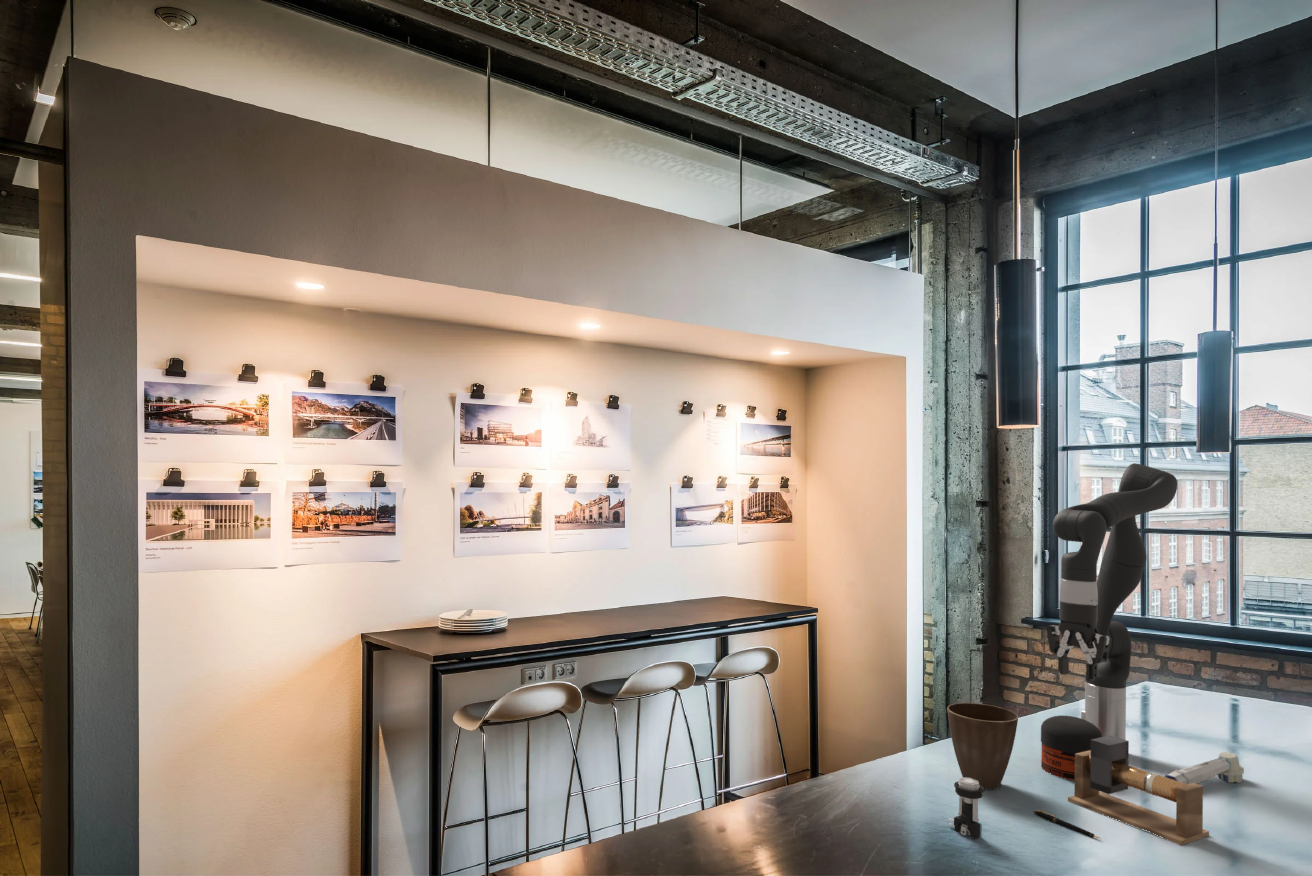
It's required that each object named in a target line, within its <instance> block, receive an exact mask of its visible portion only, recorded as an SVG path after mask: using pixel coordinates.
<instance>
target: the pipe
mask: <svg viewBox="0 0 1312 876" xmlns="http://www.w3.org/2000/svg"><path fill="white" fill-rule="evenodd" d="M1090 765H1091V754H1090V755H1089V756H1088V757H1087V759H1086V769H1087V771H1088V772H1090ZM1111 780H1113V781H1116V782H1119V783H1121V784H1124V785H1127V786H1128V787H1129V788H1130V787H1131V788H1133V789H1136V790H1139V791H1141V792H1145V793H1147V794H1149V795H1152V796H1155V797H1159V798H1162V799H1165V800H1167V801H1171V802H1173V803H1176V789H1177V787H1180V786H1184V785H1187V784H1184V783H1181V782H1178V781H1175V780H1172V779H1169V778H1166V777H1164V776H1163V775H1160V774H1158V773H1155V772H1153V771H1152V772H1151V771H1147V770H1144V769H1141V768H1138V767H1135V766H1132V765H1130V764H1128V765H1126V764H1123V763H1120V762H1117V761H1112V779H1111Z"/></svg>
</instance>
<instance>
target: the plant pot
mask: <svg viewBox="0 0 1312 876" xmlns="http://www.w3.org/2000/svg"><path fill="white" fill-rule="evenodd" d="M946 709H947V711H946V712H947V718H948V719H947V720H948V726H949V731H950V736H951V742H952V746H953V750H954V753H955V758H956V761H957V765H958V768H959V771H960V774H961V776H962V778H972V779H975V780H977V781H978V782H979V785H981V786H982V787H983V788H984V790H997V789H998V788H1000V786H1001V784H1002V781H1003V778H1004V776H1005V773H1006V771H1007V768H1008V765H1009V762H1010V759H1011V756H1012V753H1013V748H1014V745H1015V740H1016V736H1017V735H1016V733H1017V727H1018V721H1019V716H1018V714H1017V713H1016V712H1014V711H1012V710H1010V709H1007V708H1005V707H999V706H996V705H991V704H984V703H975V702H973V703H972V702H959V703H953V704H949V705H948V706H947V707H946Z"/></svg>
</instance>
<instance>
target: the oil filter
mask: <svg viewBox="0 0 1312 876" xmlns="http://www.w3.org/2000/svg"><path fill="white" fill-rule="evenodd" d="M1101 737H1102V734H1101V731H1100V730H1099V729H1098V728H1097V727H1096V726H1095V725H1094V724H1092V723H1090V722H1089V721H1086V720H1084V719H1081V717H1077V716H1071V715H1054V716H1050V717H1048V718H1046V719H1045V720H1043V722H1042V724H1041V727H1040V742H1041V756H1040V757H1041V760H1040V762H1041V763H1040V765H1041V766H1040V767H1042V768H1041V769H1042V770H1043V771H1044V770H1045V771H1044V772H1046V773H1047V772H1048V773H1047V774H1049V773H1051V774H1050V775H1052V776H1054V775H1055V776H1054V777H1057V776H1058V778H1060V777H1062V778H1061V779H1064V778H1066V779H1065V780H1068V779H1070V781H1074V782H1075V754H1076V753H1081V752H1085V751H1089V750H1091V740H1092V739H1096V738H1101Z"/></svg>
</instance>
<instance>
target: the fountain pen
mask: <svg viewBox="0 0 1312 876" xmlns="http://www.w3.org/2000/svg"><path fill="white" fill-rule="evenodd" d="M1033 814H1035V815H1036V816H1038V817H1039V818H1042V819H1044V820H1046V821H1048V820H1049V821H1048V822H1050V823H1053V824H1055V823H1056V825H1058V824H1059V826H1061V827H1064V828H1066V829H1068V830H1071V831H1073V832H1076V833H1079V834H1081V835H1084V836H1086V837H1087V836H1088V837H1090V838H1092V839H1093V838H1095V839H1101V840H1102V838H1101V837H1099V836H1097V835H1095V833H1093V832H1091V831H1089V830H1087V829H1084V828H1082V827H1080V826H1077V825H1075V824H1072V823H1070V822H1067V821H1065V820H1063V819H1060V818H1059V817H1057V815H1055V814H1052V813H1049V812H1047V811H1044V810H1041V809H1036V810H1033Z"/></svg>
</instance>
